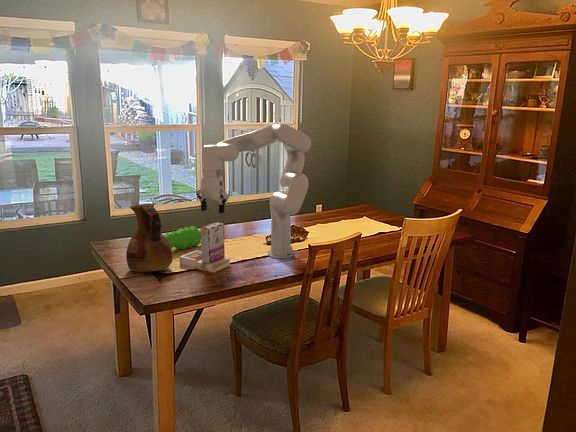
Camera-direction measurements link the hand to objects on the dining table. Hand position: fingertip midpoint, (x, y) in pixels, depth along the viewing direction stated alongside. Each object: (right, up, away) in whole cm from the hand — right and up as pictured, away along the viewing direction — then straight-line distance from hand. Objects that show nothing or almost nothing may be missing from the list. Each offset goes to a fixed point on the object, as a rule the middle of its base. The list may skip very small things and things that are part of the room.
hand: (212, 211), depth 227 cm
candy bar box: (-1, -22, +5) cm, 23 cm away
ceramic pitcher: (-28, -26, 0) cm, 38 cm away
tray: (-9, -24, +10) cm, 28 cm away
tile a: (-5, -21, +11) cm, 24 cm away
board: (-1, -25, +6) cm, 26 cm away
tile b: (-8, -22, +6) cm, 24 cm away
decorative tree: (-21, -19, +32) cm, 43 cm away
